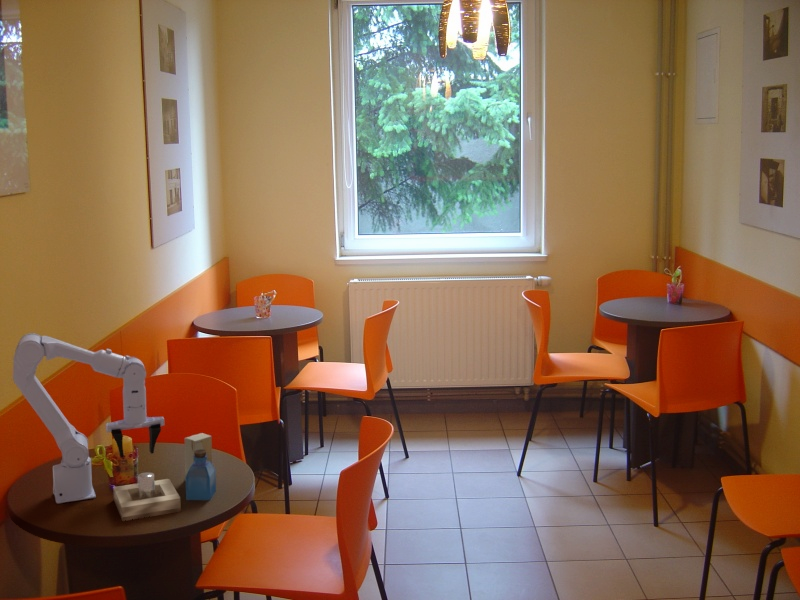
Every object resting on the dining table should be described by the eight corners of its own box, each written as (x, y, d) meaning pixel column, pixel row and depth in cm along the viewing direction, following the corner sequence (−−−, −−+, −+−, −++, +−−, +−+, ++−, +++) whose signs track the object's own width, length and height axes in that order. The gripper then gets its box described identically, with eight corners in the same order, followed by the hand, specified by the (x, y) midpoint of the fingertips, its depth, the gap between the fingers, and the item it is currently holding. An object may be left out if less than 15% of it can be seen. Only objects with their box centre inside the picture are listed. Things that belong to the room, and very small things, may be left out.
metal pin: (139, 505, 213) (138, 479, 212) (137, 499, 216) (136, 473, 215) (156, 503, 215) (155, 476, 213) (153, 497, 218) (152, 471, 217)
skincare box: (194, 484, 229) (193, 441, 227) (184, 480, 232) (183, 437, 230) (213, 477, 234) (212, 435, 232) (202, 474, 237) (201, 432, 235)
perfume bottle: (192, 490, 226) (191, 447, 224) (215, 491, 226) (214, 447, 223) (186, 499, 220) (184, 455, 218) (210, 500, 219) (209, 456, 217)
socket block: (122, 521, 206) (121, 507, 206) (113, 500, 219) (113, 487, 218) (180, 511, 212) (180, 498, 212) (169, 491, 225) (168, 478, 224)
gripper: (107, 412, 216) (110, 463, 218) (166, 405, 222) (167, 455, 225) (104, 404, 222) (106, 454, 224) (160, 398, 228) (162, 446, 231)
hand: (136, 454), depth 225 cm, fingers open, 7 cm apart
